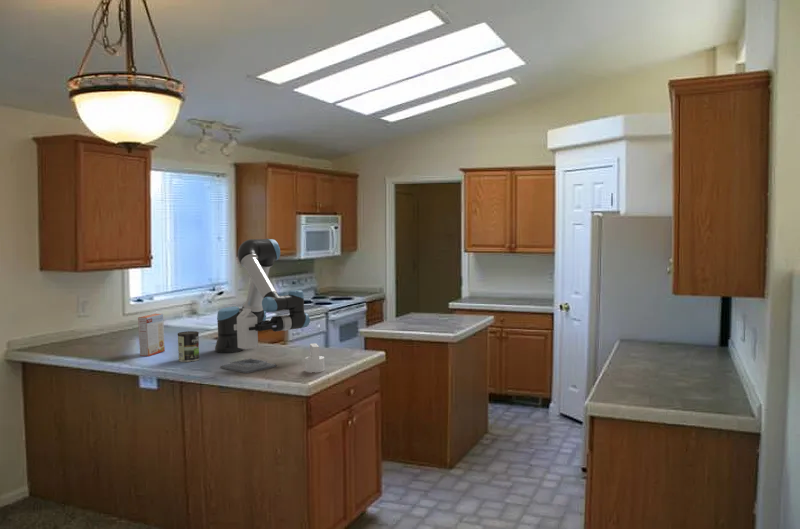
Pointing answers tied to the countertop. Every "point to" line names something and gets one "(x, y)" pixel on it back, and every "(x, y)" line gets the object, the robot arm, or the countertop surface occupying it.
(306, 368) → the base with upright slab
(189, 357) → the coffee can
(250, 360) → the dock collar
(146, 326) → the cracker box
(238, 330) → the milk carton
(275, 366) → the board
